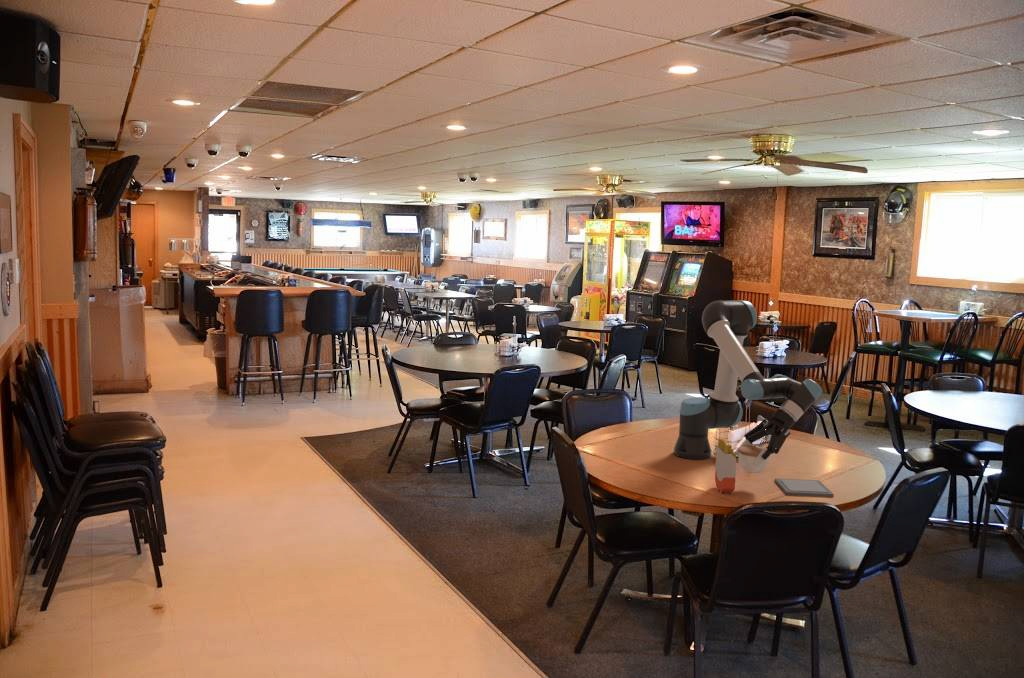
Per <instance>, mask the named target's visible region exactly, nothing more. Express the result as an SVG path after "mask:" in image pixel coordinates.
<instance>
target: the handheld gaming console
mask: <svg viewBox="0 0 1024 678" xmlns="http://www.w3.org/2000/svg"><path fill="white" fill-rule="evenodd" d="M764 419H766V418H764V417H763V416H762V415H757V419H756V421H763V420H764ZM766 421H768V420H767V419H766ZM768 422H769V421H768ZM770 438H771V436H769V435H768V436H765V440H766V441H765V442H769V441H770Z"/></svg>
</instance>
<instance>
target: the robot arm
mask: <svg viewBox="0 0 1024 678" xmlns="http://www.w3.org/2000/svg"><path fill="white" fill-rule="evenodd" d="M701 315H702V316H701V323H702V324H701V325H702V327H703V329H704V331H705V333H706V334H707V336H708V337H709V338H712V339H713V341H714V342H715V343H716V345H717V346H718V348H719V355H718V363H717V369H716V370H717V371H716V377H715V382H714V383H715V384H714V390H713V391H712V392H710V394H709V397H708V398H706V397H688V398H685V399H683V400H682V401H681V403H680V409H679V426H678V436H677V437H678V438H677V440H676V442H675V445H674V447H673V454H674V453H675V454H676V455H678V456H681V457H680V458H682V457H685V458H684V459H686V458H689V460H707V458H708V459H710V458H711V457H712V449H711V445H710V444H711V443H710V440H709V430H711V429H713V430H714V429H728V428H731V427H735V426H737V425H738V424H740V423H741V420H742V417H743V411H744V410H743V407H742V403H741V402H740V401H739V397H738V396H737V395H736V392H737V386H738V380H739V381H741V385H740V391H741V395H742V397H743V398H744V399H746V400H749V401H759V400H767V399H771V400H772V399H781V398H782V399H785V401H784V402H783V403H782V404H781V405H780V406H779V408H777V409H776V410H775V412H773V414H772V416H771V417H772V419H770V421H766V420H767V418H765V419H764V420H763V421H762V422H761V423H760V424H759V425H757V424H756V426H755V427H753V428H752V429H751V430H749V431H747V432H746V433H745V434H744V438H745V439H744V440H743V442H742V443H741V444H740V446H753V443H755V442H756V441H758V440H760V438H762V437H764V436H768V435H771V438H770V441H769V443H767V446H765V447H764V448H765V449H764V450H763V451H762V452H761V453H760V454H759V455H758V456H757V457H756V458H755V459H754V460H753V463H754V464H755V465H756V466H757V467H759V466H760V465H761V463H762V462H763V461H764V460H766V459H767V458H768V457H770V456H771V455H773V454H775V455H777V454H779V452H780V451H781V448H782V447H783V445H784V444H785V441H786V439H787V438H788V437H789V436H790V435H791V431H789V430H790V429H791V428H792V427H794V425H795V424H796V422H798V420H799V419H800V418H801V417H802V416H803V415H804V414H805V413H806V412H807V411H808V409H809V408H810V407H811V406H812V405H814V403H815V402H816V401H817V400H818V398H819V397H820V396H821V395H822V393H823V389H822V387H821V386H820V385H819V384H818V383H817V382H816V381H814V380H813V379H810V378H806V379H804V380H803V381H802V382H801V381H797V380H795V379H793V378H791V377H788V376H787V375H785V374H784V375H783V374H781V373H780V374H778V373H776V374H774V375H773V376H771V377H767V378H765V377H764V376H763V375H762V373H761V372H760V370H759V369H758V367H757V366H756V364H755V363H754V362H753V360H752V358H751V357H750V356H749V354H748V353H747V351H746V349H745V348H744V340H745V338H747V337H748V336H749V332H750V330H751V329H754V328H755V326H756V324H757V323H758V322H757V321H758V313H757V309H756V308H755V307H754V305H753V303H751V302H750V301H748V300H740V299H737V300H736V299H735V300H734V299H733V300H732V299H730V300H715V301H712V302H710V303H708V304H707V305H706V307H704V310H703V311H702V314H701ZM765 429H766V430H765ZM767 449H768V450H767ZM734 452H736V453H737V456H736V457H738V448H737V449H736V450H735V451H734ZM675 454H674V455H675ZM676 455H675V456H676ZM678 456H677V457H678Z"/></svg>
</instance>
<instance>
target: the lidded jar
mask: <svg viewBox="0 0 1024 678" xmlns="http://www.w3.org/2000/svg"><path fill="white" fill-rule="evenodd" d="M765 448H766V447H762V446H757V444H752V445H751V446H741V445H739V447H738V448H737V449H738V456H737V461H738V463H739V465H740V467H741V468H742V470H743V471H744V472H746V473H751V474H760V473H761V472H762V471H763V470H765V468H766V467H767V465H768V463H769V457H770V456H769V457H768V458H767V459H766V460H764V461H763V462H762V463H761V465H760V466H759V467H757V466H756V465H755V464H754V463H753V460H754V459H755V458H756V457H757V456H758V455H759V454H760V453H761V452H762V451H763V450H764V449H765ZM766 449H767V448H766ZM767 450H768V449H767Z"/></svg>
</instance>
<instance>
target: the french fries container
mask: <svg viewBox="0 0 1024 678" xmlns="http://www.w3.org/2000/svg"><path fill="white" fill-rule="evenodd" d="M732 447H733V446H732V444H728V445H727V444H726V441H725V440H724V439H723V438H720V437H719V438H718V443H717V445H716V457H715V470H714V471H715V473H714V481H715V488H716V487H717V488H718V489H719V490H720V492H733V493H734V491H735V489H736V471H737V457H738V456H737V453H736V452H735V451H734V449H733V448H732ZM717 488H716V489H717ZM718 489H717V490H718ZM719 490H718V491H719Z"/></svg>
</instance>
